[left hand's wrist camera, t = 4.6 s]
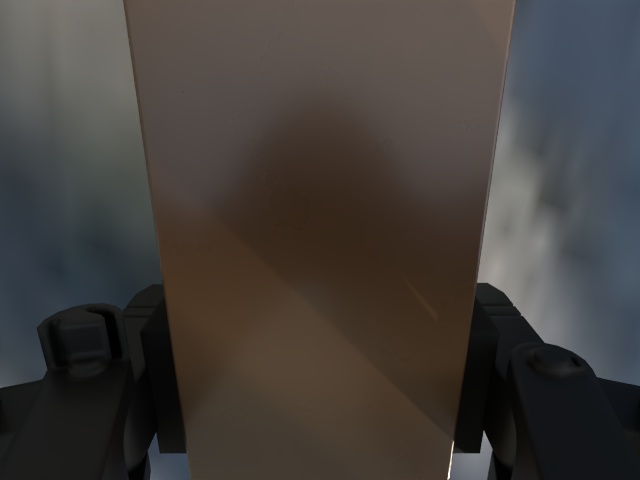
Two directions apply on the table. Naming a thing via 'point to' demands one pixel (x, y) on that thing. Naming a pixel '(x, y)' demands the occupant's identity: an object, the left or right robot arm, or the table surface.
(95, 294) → the table surface
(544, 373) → the left robot arm
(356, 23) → the beam
